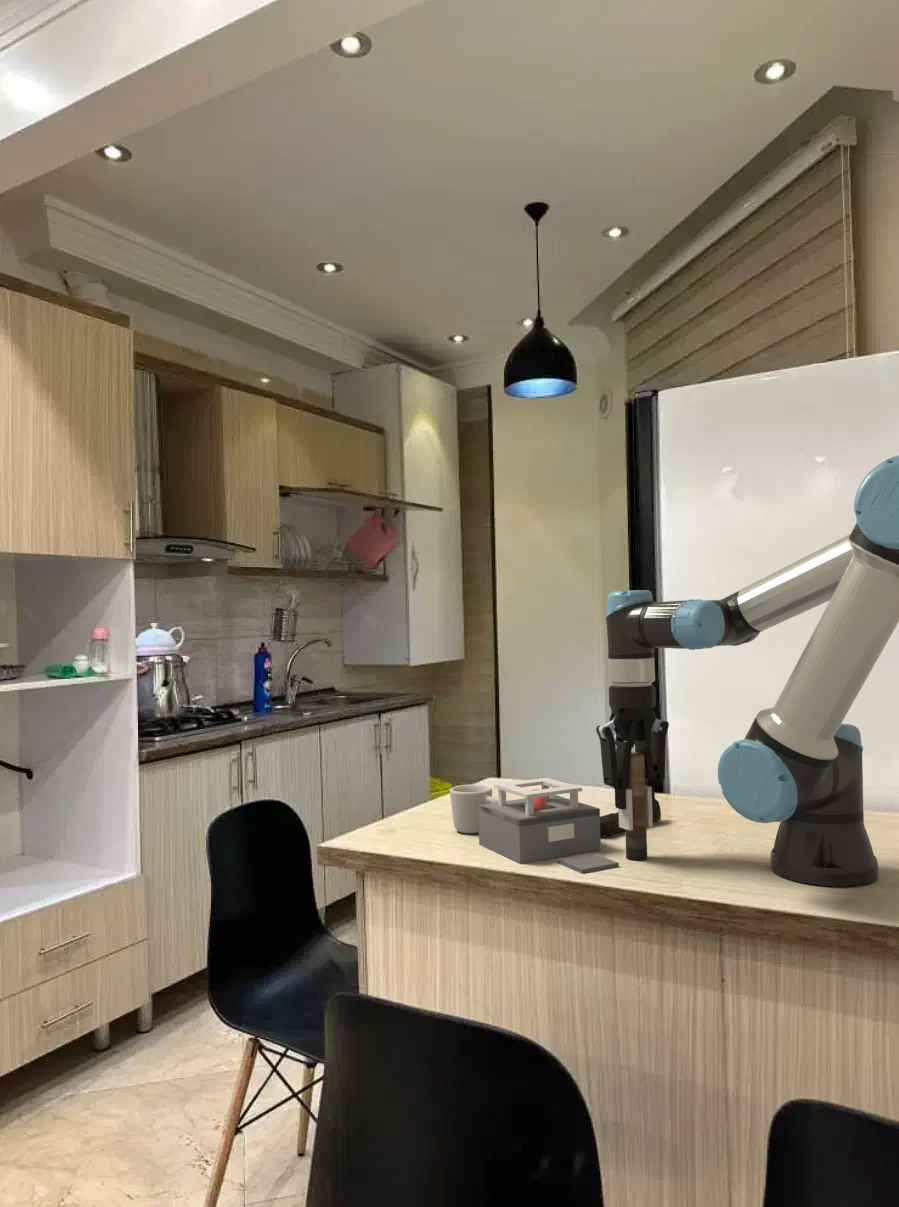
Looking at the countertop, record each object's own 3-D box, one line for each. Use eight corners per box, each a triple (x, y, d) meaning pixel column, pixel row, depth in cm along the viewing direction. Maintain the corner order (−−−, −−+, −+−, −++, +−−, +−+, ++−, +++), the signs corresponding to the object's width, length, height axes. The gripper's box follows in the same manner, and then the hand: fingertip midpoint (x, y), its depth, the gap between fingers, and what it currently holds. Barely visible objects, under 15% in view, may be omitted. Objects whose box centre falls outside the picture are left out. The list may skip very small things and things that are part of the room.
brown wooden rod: (651, 858, 143) (648, 754, 143) (635, 861, 142) (631, 756, 142) (638, 853, 146) (635, 751, 146) (621, 856, 145) (618, 753, 145)
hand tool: (603, 841, 156) (603, 815, 156) (587, 837, 159) (586, 811, 159) (672, 824, 167) (671, 799, 167) (655, 820, 170) (654, 796, 170)
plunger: (550, 832, 151) (549, 791, 151) (535, 834, 150) (534, 793, 150) (541, 828, 154) (540, 788, 154) (526, 830, 153) (525, 790, 153)
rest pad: (618, 866, 139) (618, 862, 139) (582, 873, 136) (582, 869, 136) (592, 856, 145) (592, 852, 146) (557, 862, 142) (557, 858, 142)
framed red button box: (601, 850, 149) (599, 787, 149) (520, 864, 142) (519, 798, 142) (555, 832, 162) (553, 775, 162) (479, 844, 155) (477, 784, 155)
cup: (513, 832, 163) (512, 789, 163) (485, 841, 157) (484, 796, 157) (470, 823, 170) (469, 782, 170) (442, 832, 164) (440, 789, 164)
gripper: (656, 680, 151) (660, 816, 151) (577, 685, 144) (581, 828, 144) (685, 682, 145) (690, 824, 144) (604, 688, 137) (609, 838, 137)
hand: (635, 826), depth 144 cm, fingers closed on brown wooden rod, 3 cm apart
